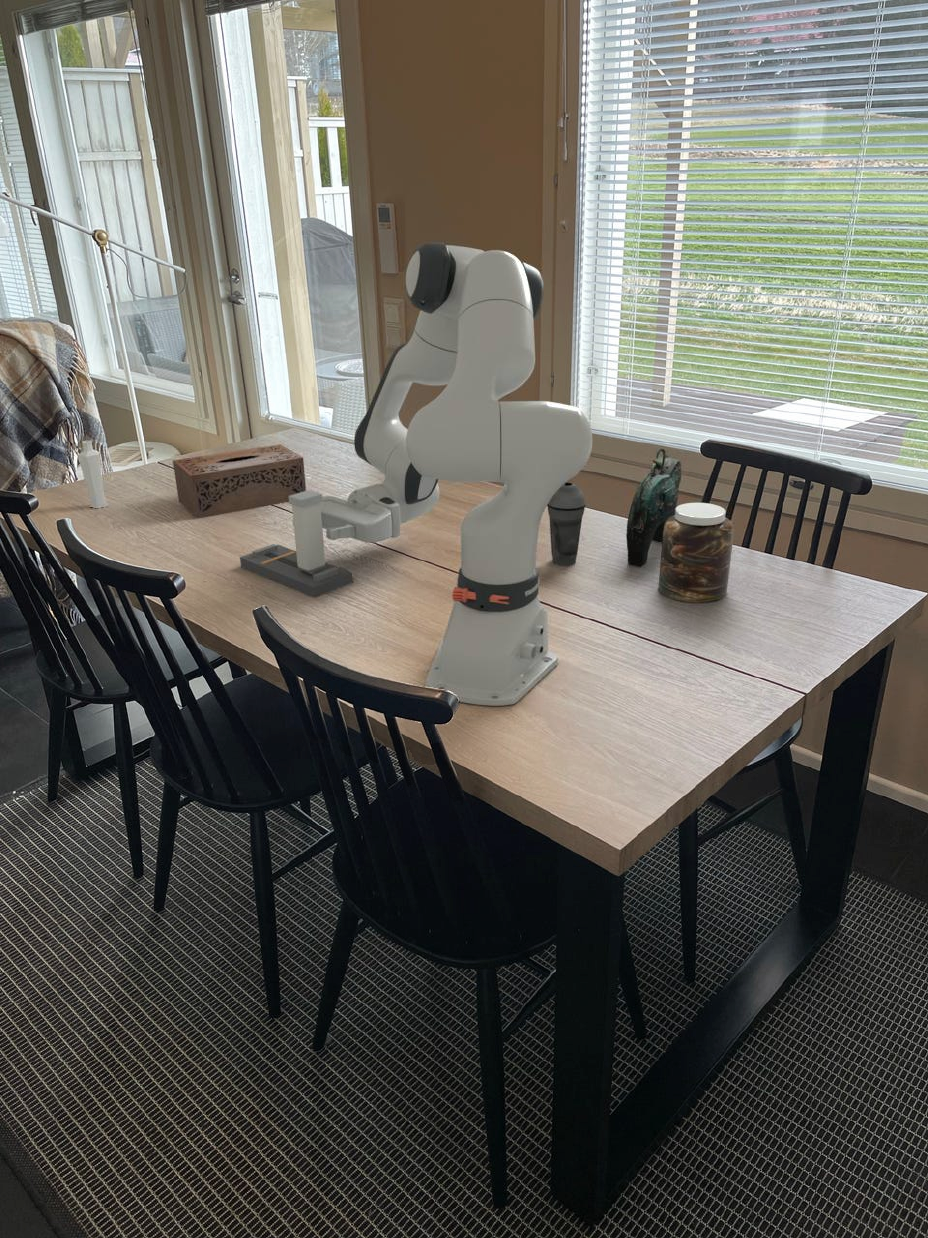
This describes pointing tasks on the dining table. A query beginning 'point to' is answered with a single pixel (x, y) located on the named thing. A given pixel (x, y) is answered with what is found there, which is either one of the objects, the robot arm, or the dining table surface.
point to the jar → (696, 553)
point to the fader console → (294, 571)
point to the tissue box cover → (238, 480)
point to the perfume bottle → (92, 475)
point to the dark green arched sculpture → (652, 507)
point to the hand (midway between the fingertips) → (311, 529)
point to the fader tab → (308, 531)
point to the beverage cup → (566, 523)
